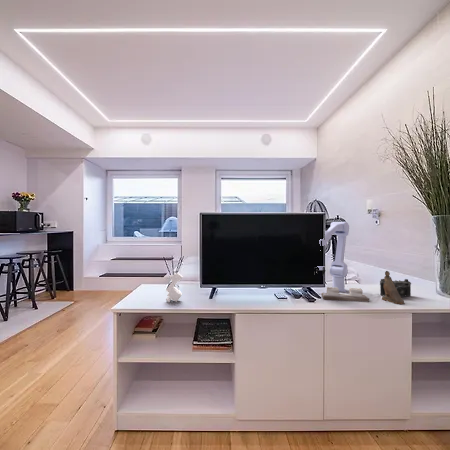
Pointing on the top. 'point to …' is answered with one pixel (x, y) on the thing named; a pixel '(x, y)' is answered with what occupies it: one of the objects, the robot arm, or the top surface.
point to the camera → (398, 287)
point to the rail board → (345, 295)
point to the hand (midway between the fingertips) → (319, 280)
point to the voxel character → (174, 288)
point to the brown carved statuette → (391, 291)
